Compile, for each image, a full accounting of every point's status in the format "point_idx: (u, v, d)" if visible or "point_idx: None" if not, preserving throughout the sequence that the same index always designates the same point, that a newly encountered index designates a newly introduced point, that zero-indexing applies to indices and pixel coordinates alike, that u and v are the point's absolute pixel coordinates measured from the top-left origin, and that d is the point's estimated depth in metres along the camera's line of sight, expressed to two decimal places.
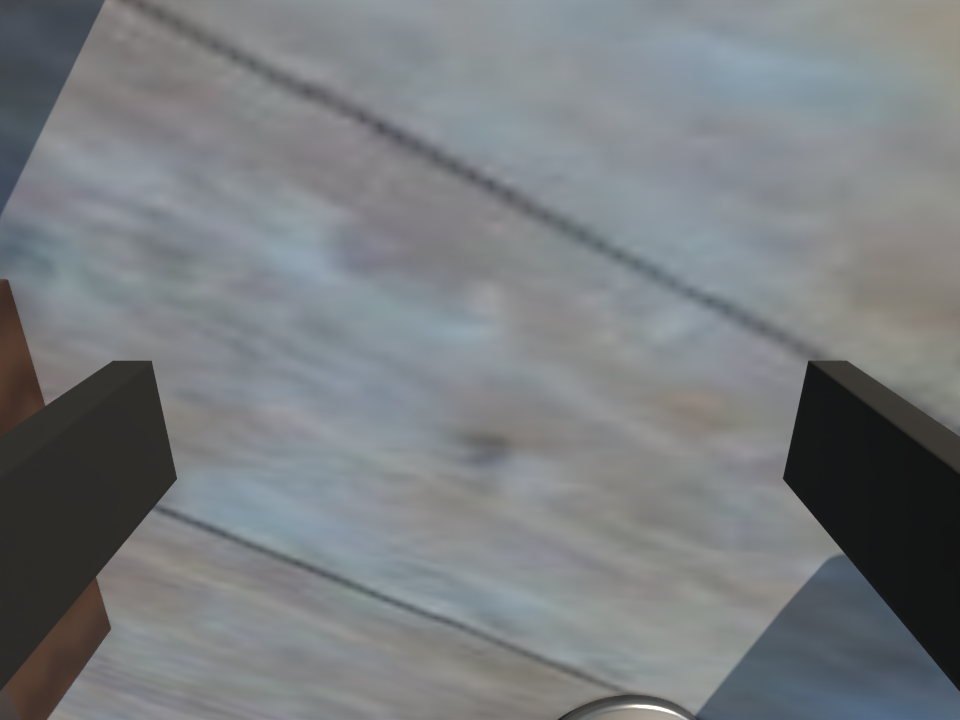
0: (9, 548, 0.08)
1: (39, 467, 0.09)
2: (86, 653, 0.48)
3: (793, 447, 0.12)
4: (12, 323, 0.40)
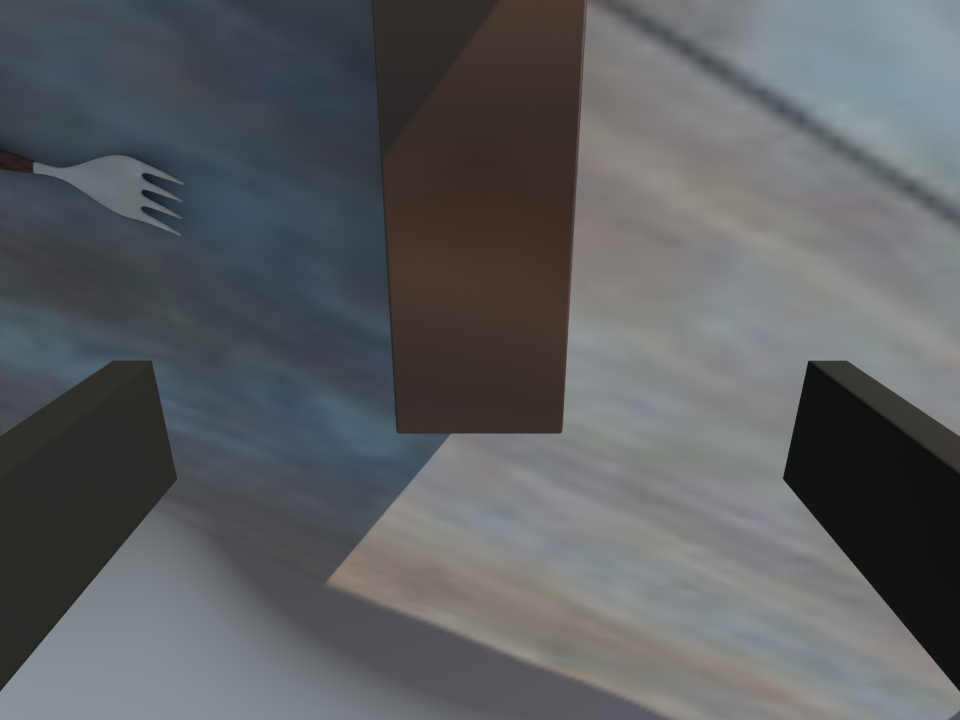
0: (9, 548, 0.08)
1: (39, 467, 0.09)
2: None
3: (793, 446, 0.13)
4: None
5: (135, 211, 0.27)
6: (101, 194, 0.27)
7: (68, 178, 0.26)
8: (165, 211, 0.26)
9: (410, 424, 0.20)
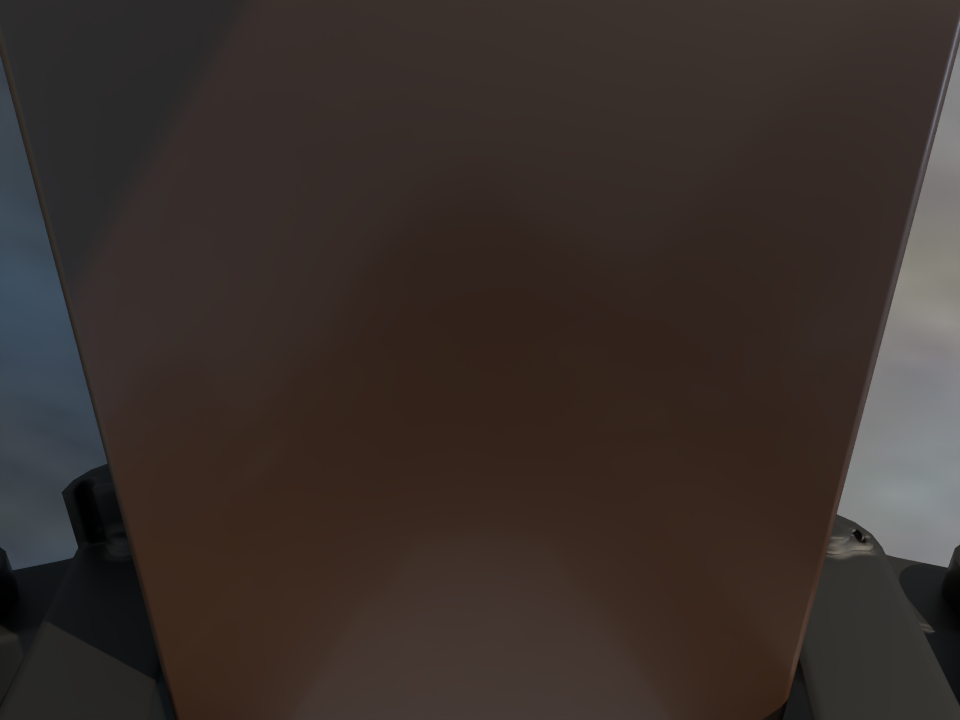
0: None
1: None
2: None
3: None
4: None
5: None
6: None
7: None
8: None
9: None
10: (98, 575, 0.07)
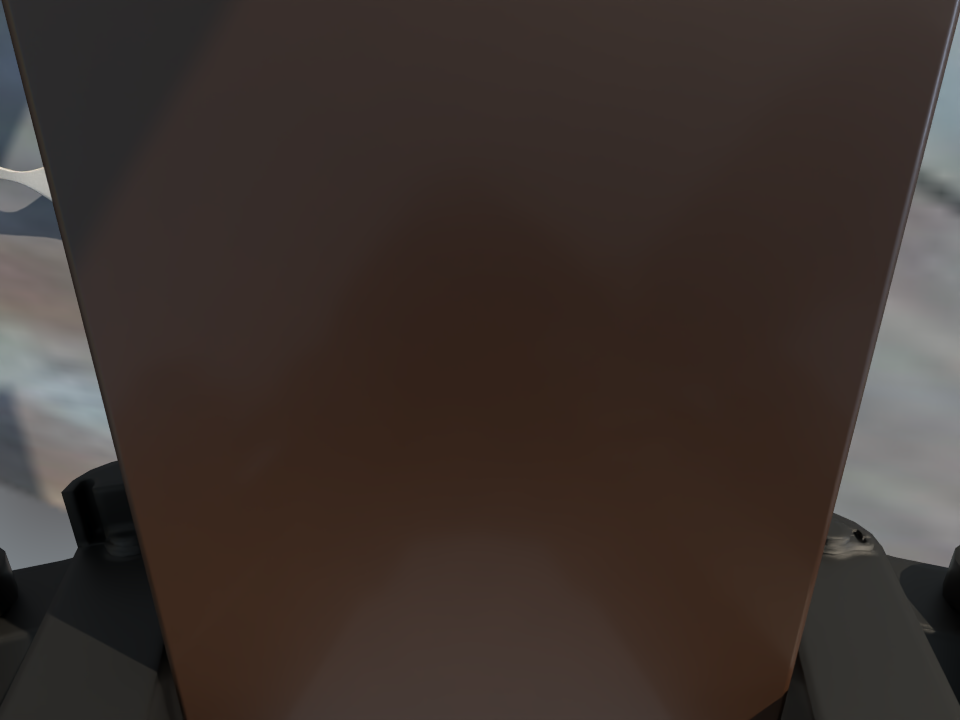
0: None
1: None
2: None
3: None
4: None
5: None
6: None
7: (29, 183, 0.24)
8: None
9: None
10: (98, 575, 0.07)
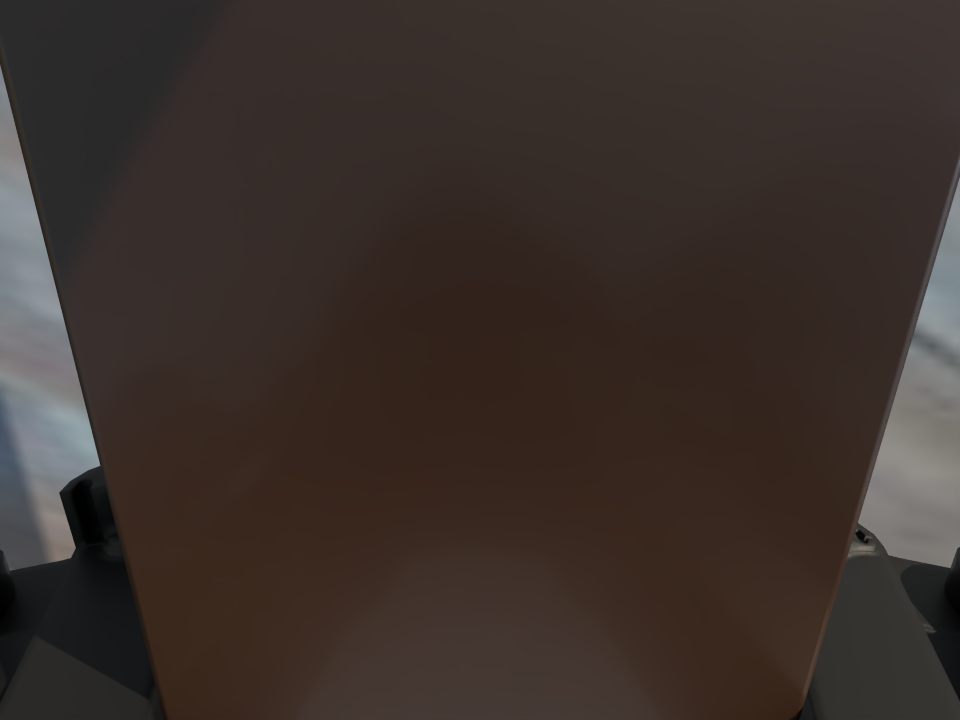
0: None
1: None
2: None
3: None
4: None
5: None
6: None
7: None
8: None
9: None
10: (96, 575, 0.07)
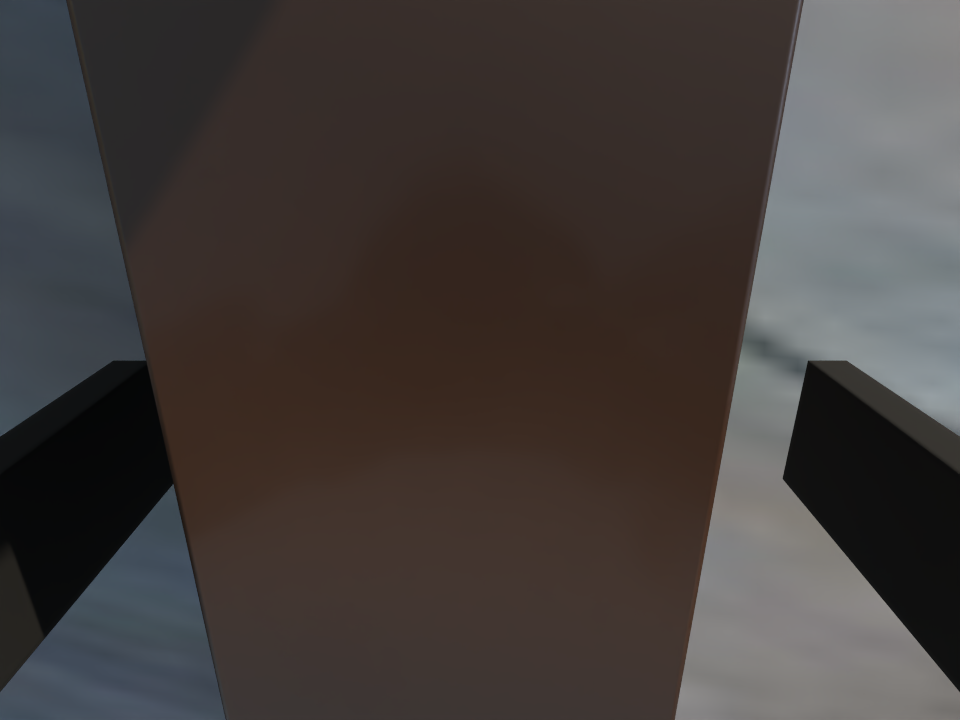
0: (10, 548, 0.08)
1: (40, 467, 0.09)
2: None
3: (794, 447, 0.13)
4: None
5: None
6: None
7: None
8: None
9: None
10: None
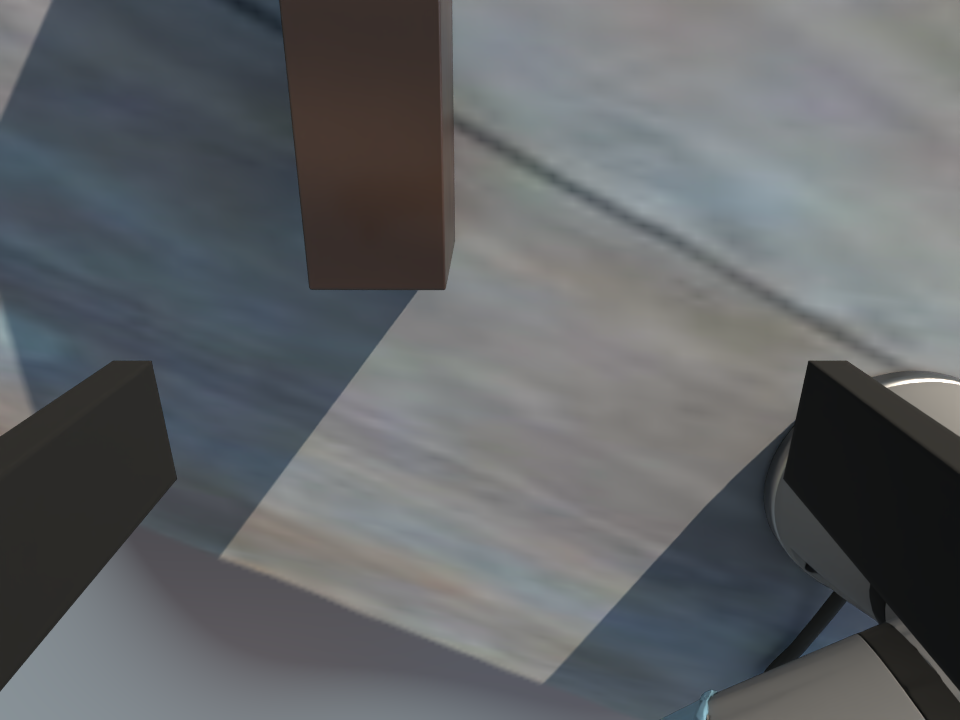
0: (9, 548, 0.08)
1: (39, 467, 0.09)
2: (452, 239, 0.31)
3: (793, 447, 0.12)
4: None
5: None
6: None
7: None
8: None
9: (319, 281, 0.24)
10: None
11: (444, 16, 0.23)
